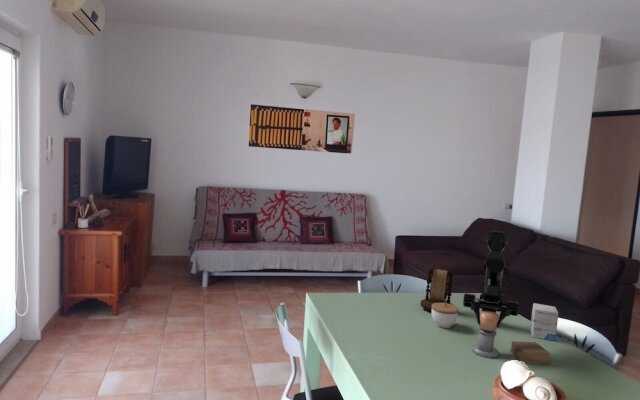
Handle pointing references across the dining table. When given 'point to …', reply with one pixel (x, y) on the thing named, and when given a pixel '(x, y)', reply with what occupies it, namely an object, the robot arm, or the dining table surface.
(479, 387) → the dining table surface
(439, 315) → the lidded jar
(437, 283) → the scroll
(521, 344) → the stand
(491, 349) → the grey pedestal post
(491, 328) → the cap
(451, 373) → the dining table surface
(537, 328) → the ink box
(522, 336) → the dining table surface
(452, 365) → the dining table surface
